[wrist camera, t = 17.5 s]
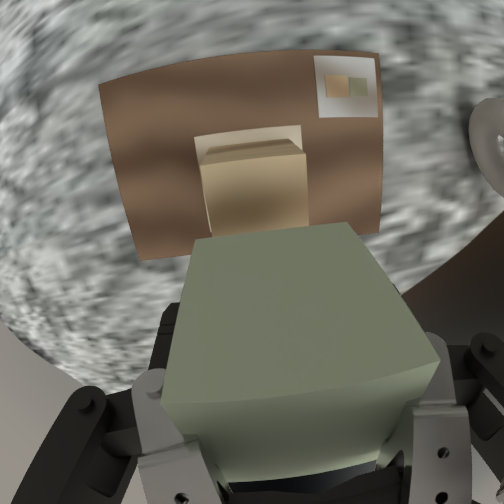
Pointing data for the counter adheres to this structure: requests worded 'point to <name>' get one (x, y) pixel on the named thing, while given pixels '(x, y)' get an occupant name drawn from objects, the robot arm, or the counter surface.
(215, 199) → the maple block
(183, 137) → the baseplate
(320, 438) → the sage block
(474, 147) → the donut
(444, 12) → the counter surface
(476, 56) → the counter surface
